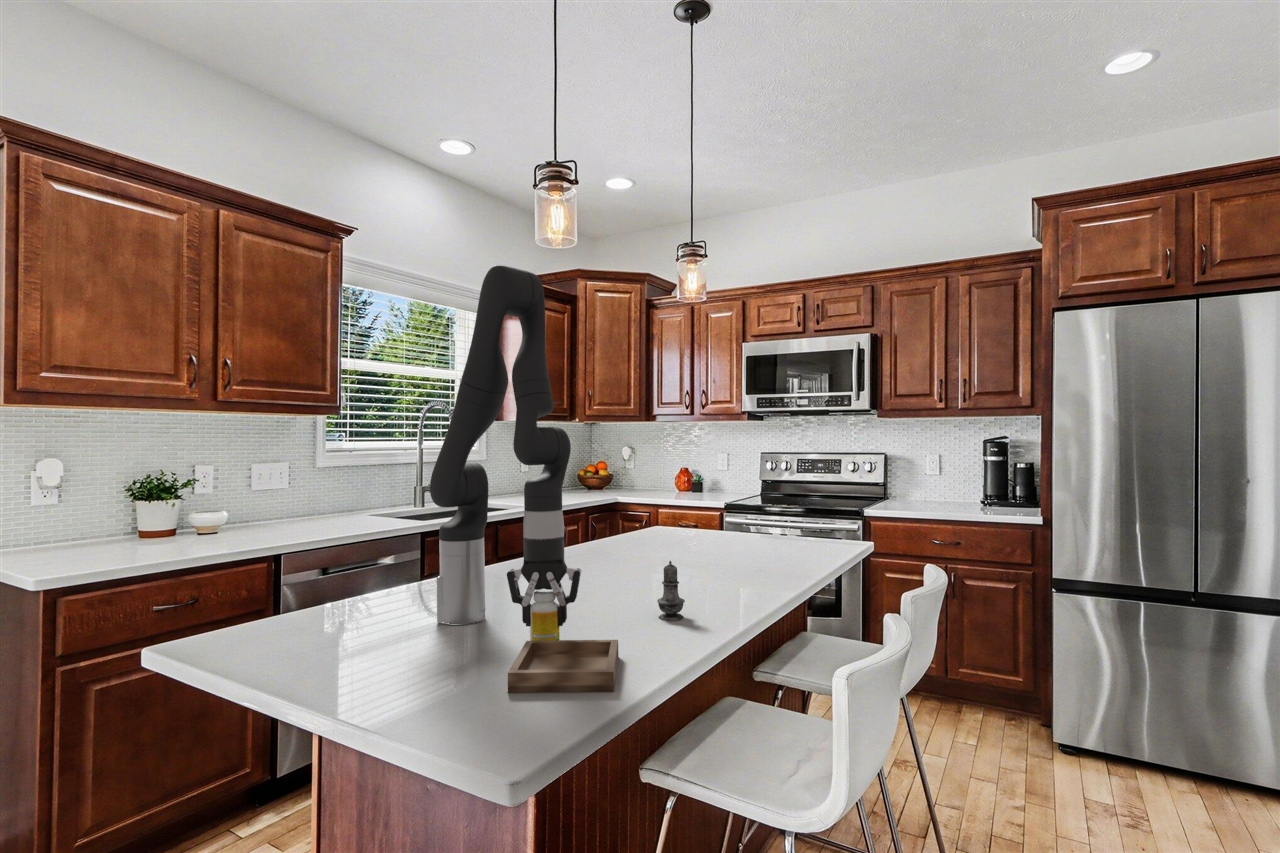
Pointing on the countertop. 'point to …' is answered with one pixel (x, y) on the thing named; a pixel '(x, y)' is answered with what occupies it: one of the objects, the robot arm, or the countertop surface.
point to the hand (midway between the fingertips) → (545, 624)
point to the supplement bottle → (544, 616)
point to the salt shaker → (670, 595)
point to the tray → (564, 666)
